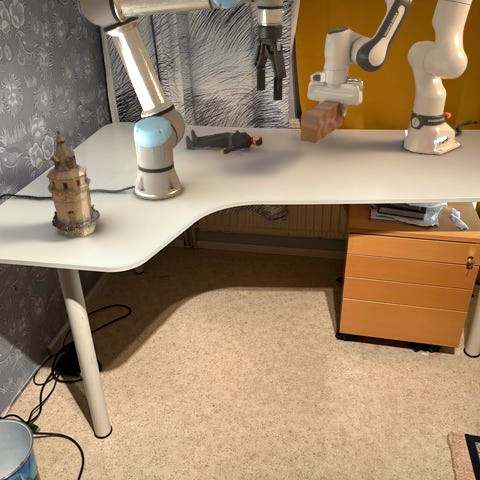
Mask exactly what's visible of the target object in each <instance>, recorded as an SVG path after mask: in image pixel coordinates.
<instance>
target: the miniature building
mask: <svg viewBox="0 0 480 480" xmlns="http://www.w3.org/2000/svg"><path fill="white" fill-rule="evenodd" d="M56 134H57V136H56V138H55V140H54V141H55V142H56V147H55V154H54V156H52V157H51V161H52V162H53V165H54V167H53V168H51V169H50V170H49V171H48V173H47V174H46V178H47V179H48V182H49V184H48V186H47V190H48V191H49V193H50V194H51V196H52V199H51V200H52V201H53V205H54V209H55V211H53V217H52V220H51V223H52V225H51V227H54V228H56V229H58V230H59V231H60V234H63V235H64V234H65V235H66V236H69V237H77V236H80V237H83V236H87V235H88V234H90V233H93V232H94V231H95V229H96V226H97V225H98V223H99V220H100V216H101V213H100V212H99V210H98V209H96V208H95V204H92V201H91V200H92V199H91V198H92V197H91V193H92V192H91V191H90V190H91V188H90V184H91V178H89V177H88V174H87V167H85V166H84V165H83V166H82V165H80V164H77V160H76V154H75V151H74V150H70V149H69V147H68V145H67V143H66V138H65V137H64V136H63V135H61V130H60V129H56Z"/></svg>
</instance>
